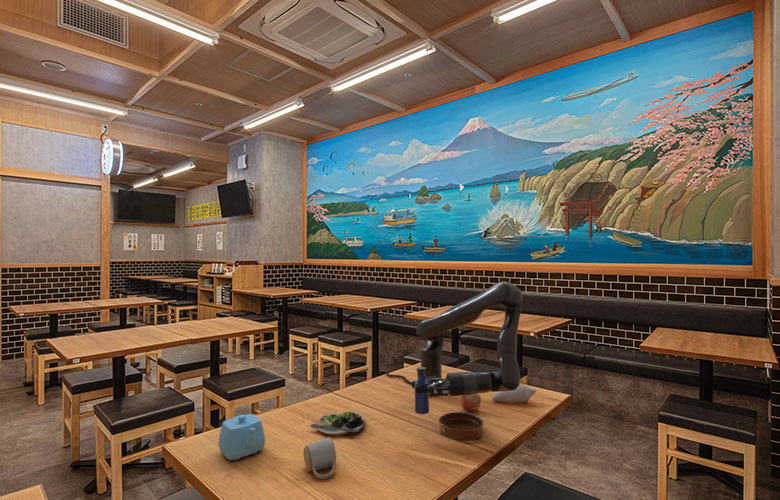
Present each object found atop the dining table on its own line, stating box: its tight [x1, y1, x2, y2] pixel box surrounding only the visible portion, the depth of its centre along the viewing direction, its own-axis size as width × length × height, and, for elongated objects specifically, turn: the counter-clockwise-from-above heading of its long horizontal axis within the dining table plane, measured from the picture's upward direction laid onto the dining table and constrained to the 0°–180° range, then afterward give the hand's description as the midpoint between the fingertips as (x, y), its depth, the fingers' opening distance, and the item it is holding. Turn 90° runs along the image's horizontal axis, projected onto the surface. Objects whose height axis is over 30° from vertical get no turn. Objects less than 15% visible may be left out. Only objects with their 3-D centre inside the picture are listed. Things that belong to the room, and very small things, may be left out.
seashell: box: [491, 383, 537, 404], centre depth 160 cm, size 9×11×15 cm
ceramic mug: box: [303, 436, 337, 480], centre depth 110 cm, size 11×8×8 cm
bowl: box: [438, 411, 485, 442], centre depth 133 cm, size 15×15×4 cm
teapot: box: [218, 413, 266, 461], centre depth 120 cm, size 12×18×12 cm
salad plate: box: [309, 411, 365, 436], centre depth 138 cm, size 19×18×5 cm
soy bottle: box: [414, 366, 430, 415], centre depth 129 cm, size 5×5×15 cm
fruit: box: [460, 393, 482, 413], centre depth 151 cm, size 8×8×8 cm
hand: (414, 387), depth 129 cm, fingers closed on soy bottle, 5 cm apart
